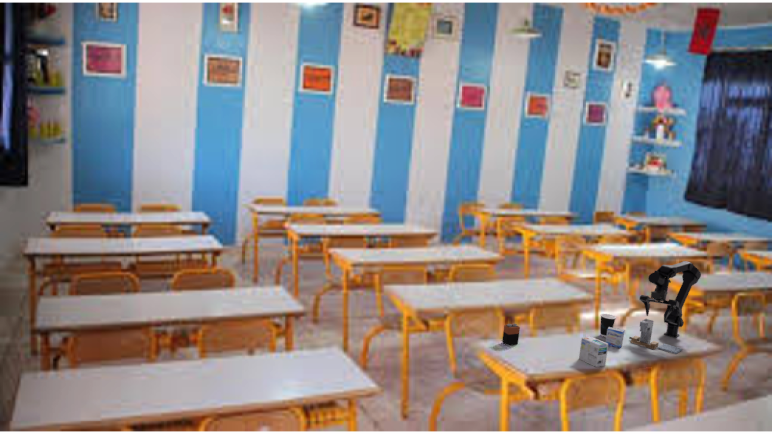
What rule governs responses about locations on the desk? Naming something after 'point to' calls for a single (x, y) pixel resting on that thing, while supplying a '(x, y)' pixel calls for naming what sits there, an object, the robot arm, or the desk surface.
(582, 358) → the light bulb box
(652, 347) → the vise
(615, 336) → the medicine box
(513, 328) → the battery
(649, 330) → the grey stone block
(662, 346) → the mat
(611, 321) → the dixie cup
